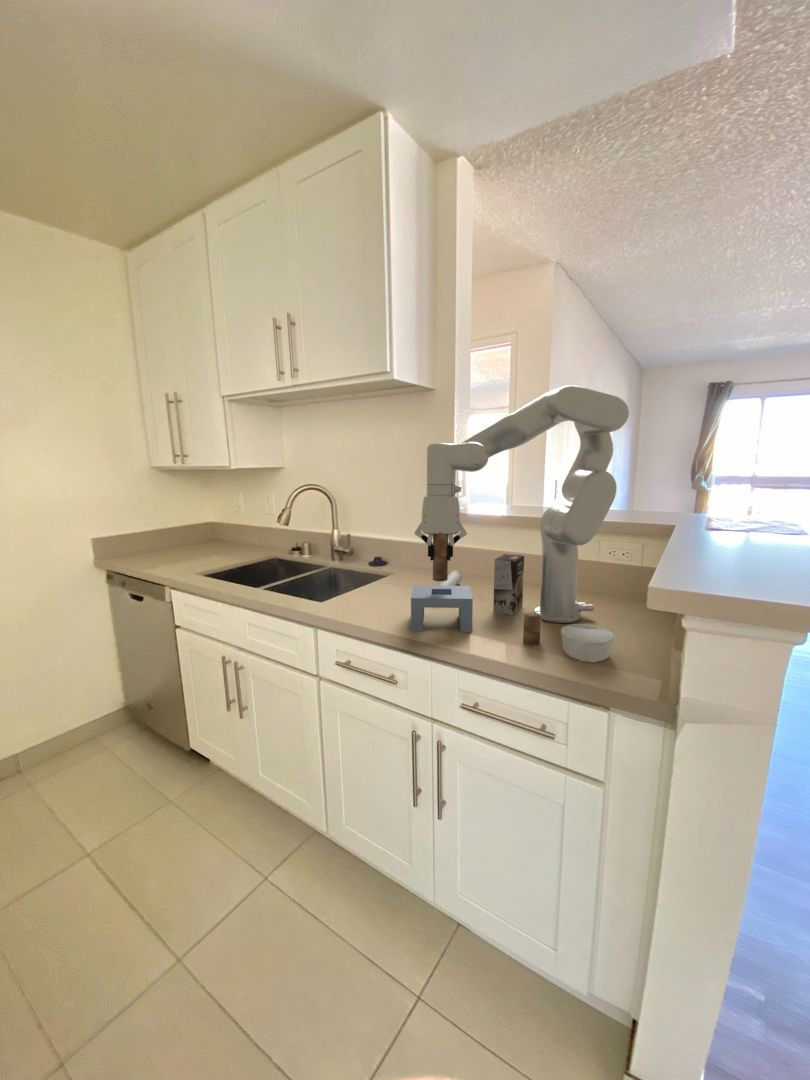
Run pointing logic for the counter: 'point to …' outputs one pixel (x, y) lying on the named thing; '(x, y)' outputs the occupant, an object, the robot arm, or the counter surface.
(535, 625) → the short pin
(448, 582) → the tube
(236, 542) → the counter surface
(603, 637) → the ramekin
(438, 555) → the tall pin
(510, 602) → the coffee box
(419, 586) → the bridge
